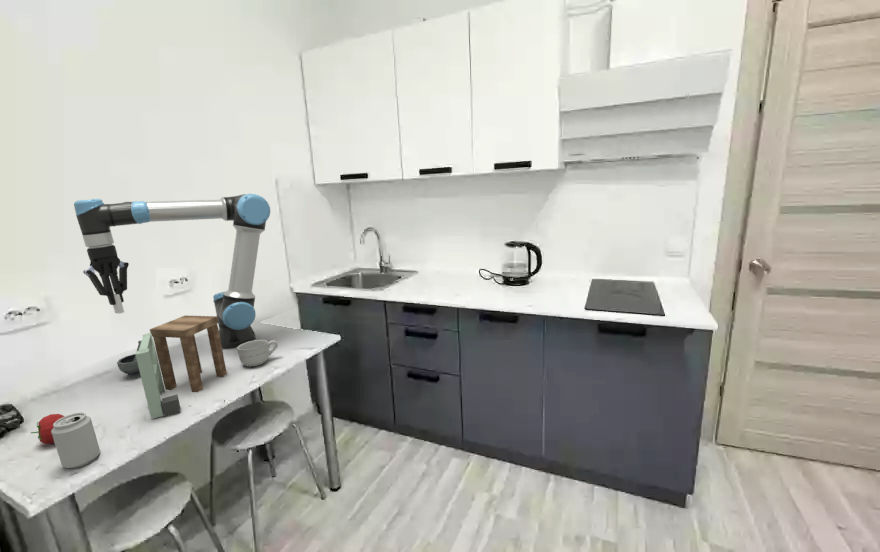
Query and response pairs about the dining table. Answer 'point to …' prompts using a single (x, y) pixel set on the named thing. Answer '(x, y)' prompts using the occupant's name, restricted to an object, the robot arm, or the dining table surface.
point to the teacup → (255, 352)
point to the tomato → (47, 428)
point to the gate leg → (150, 375)
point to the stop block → (170, 405)
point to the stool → (188, 348)
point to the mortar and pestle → (130, 365)
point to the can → (75, 440)
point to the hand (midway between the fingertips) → (119, 312)
